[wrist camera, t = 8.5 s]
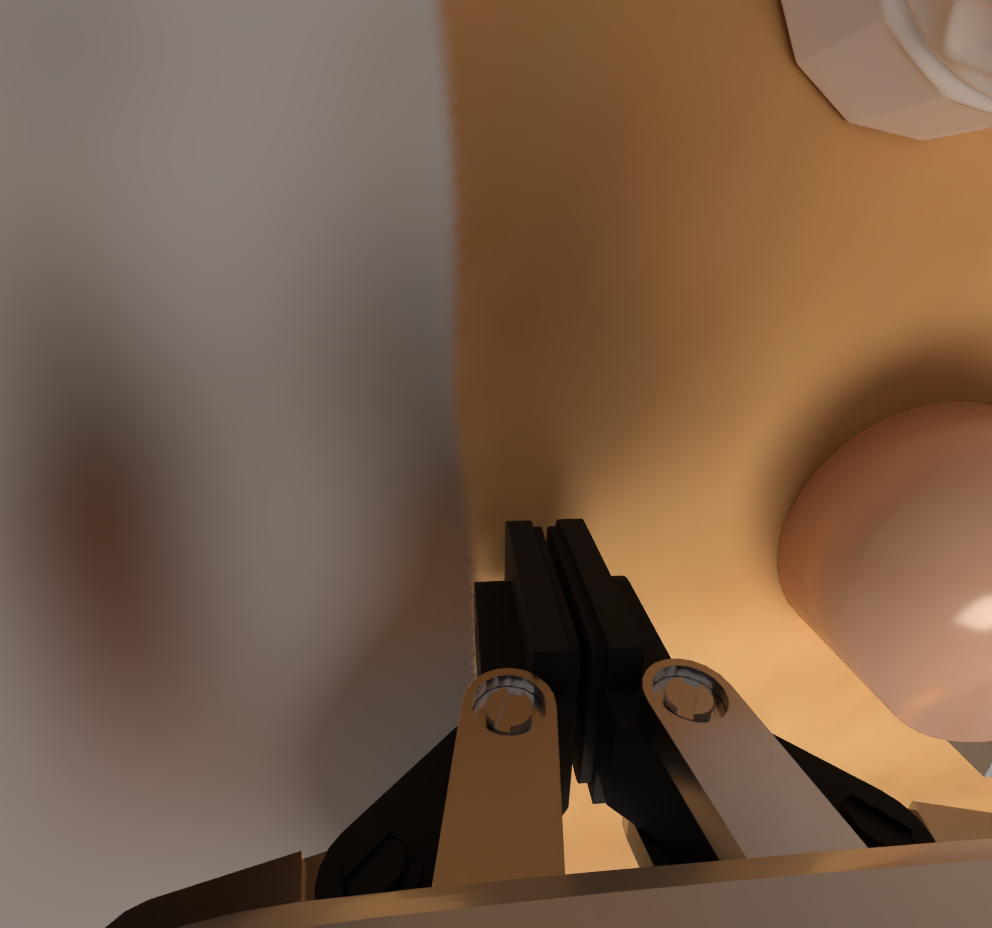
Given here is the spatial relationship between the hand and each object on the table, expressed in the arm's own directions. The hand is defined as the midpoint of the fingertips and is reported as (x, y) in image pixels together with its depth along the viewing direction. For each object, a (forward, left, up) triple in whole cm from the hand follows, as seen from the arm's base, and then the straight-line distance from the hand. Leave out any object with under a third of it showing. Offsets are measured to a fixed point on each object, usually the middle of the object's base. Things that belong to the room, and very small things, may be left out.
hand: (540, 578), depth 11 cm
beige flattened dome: (-10, 0, -2) cm, 10 cm away
